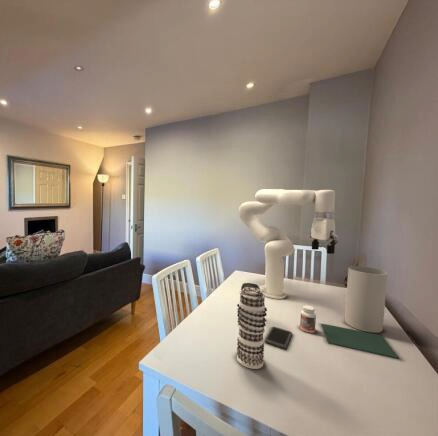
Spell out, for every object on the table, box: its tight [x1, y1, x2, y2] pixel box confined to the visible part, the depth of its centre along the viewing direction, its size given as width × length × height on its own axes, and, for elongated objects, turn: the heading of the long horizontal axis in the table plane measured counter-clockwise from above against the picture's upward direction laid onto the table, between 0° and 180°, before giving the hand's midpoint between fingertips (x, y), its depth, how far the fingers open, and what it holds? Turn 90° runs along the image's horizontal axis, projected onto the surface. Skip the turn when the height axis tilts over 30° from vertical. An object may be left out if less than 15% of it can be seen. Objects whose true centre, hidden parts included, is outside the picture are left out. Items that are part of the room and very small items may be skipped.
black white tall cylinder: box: [236, 287, 268, 370], centre depth 83 cm, size 9×9×25 cm
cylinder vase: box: [344, 265, 388, 334], centre depth 106 cm, size 12×12×25 cm
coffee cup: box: [240, 282, 260, 291], centre depth 115 cm, size 8×8×15 cm
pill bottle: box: [299, 305, 317, 333], centre depth 104 cm, size 5×5×10 cm
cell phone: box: [264, 326, 293, 350], centre depth 98 cm, size 7×14×1 cm, turn 141°
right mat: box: [320, 323, 400, 360], centre depth 97 cm, size 20×16×1 cm
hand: (322, 251), depth 118 cm, fingers open, 9 cm apart
